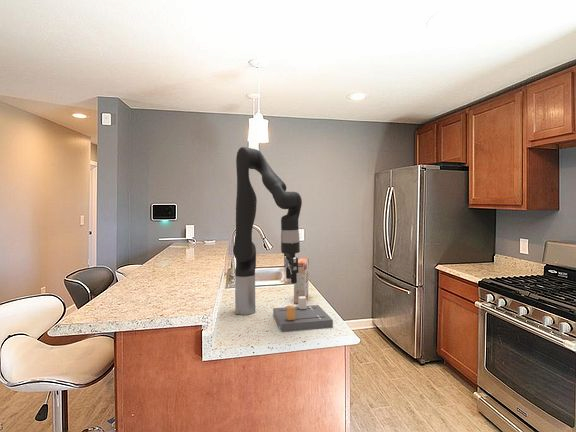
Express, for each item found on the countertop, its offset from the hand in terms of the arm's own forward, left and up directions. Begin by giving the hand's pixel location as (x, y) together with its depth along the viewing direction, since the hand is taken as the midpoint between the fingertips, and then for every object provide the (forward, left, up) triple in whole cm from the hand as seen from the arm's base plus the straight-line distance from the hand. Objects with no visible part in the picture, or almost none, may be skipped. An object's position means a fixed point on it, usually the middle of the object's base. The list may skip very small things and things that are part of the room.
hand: (291, 280), depth 130 cm
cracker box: (+13, +34, -19) cm, 41 cm away
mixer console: (+5, +5, -19) cm, 20 cm away
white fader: (+7, +11, -15) cm, 20 cm away
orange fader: (-1, -1, -15) cm, 15 cm away
